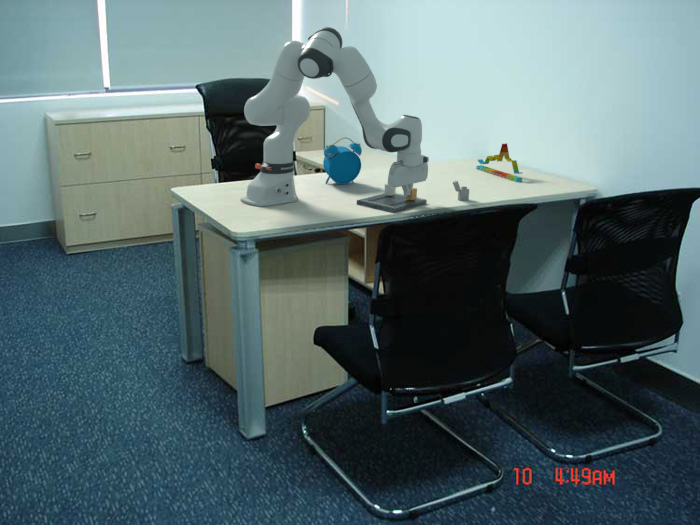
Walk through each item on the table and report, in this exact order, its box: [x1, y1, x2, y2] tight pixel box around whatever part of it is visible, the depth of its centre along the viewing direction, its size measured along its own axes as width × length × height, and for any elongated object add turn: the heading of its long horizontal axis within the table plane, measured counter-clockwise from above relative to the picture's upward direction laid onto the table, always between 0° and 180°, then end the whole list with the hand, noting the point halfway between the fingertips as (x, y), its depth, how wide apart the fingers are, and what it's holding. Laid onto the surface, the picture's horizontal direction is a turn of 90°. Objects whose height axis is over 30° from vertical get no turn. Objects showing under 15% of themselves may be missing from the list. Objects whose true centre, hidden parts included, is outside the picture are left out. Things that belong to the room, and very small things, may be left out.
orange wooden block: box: [405, 187, 418, 200], centre depth 287 cm, size 3×3×4 cm
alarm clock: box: [322, 136, 362, 185], centre depth 316 cm, size 17×10×20 cm, turn 116°
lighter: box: [452, 180, 470, 202], centre depth 294 cm, size 7×2×8 cm, turn 117°
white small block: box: [383, 183, 397, 196], centre depth 293 cm, size 3×3×4 cm
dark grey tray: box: [356, 192, 427, 214], centre depth 287 cm, size 20×18×2 cm
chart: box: [475, 143, 523, 183], centre depth 340 cm, size 30×3×15 cm, turn 26°
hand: (406, 195), depth 284 cm, fingers closed
